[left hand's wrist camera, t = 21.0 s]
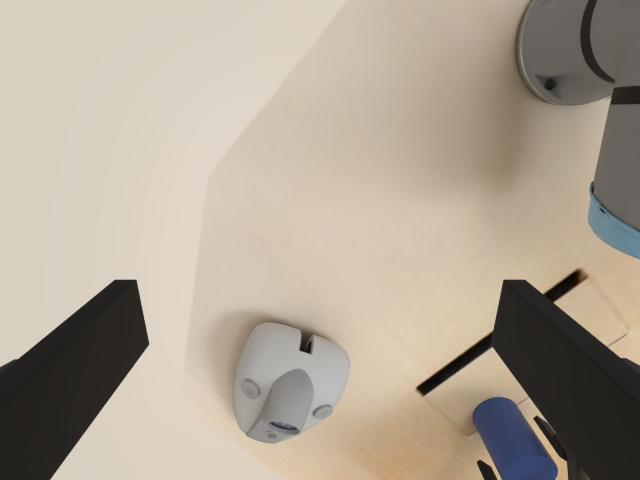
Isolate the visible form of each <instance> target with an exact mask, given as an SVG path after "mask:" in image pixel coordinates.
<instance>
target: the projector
mask: <svg viewBox="0 0 640 480" xmlns="http://www.w3.org/2000/svg"><path fill="white" fill-rule="evenodd" d="M300 343H301V330H299V329H296V328H293V327H289V326H286V325H283V324H278V323H270V322H269V323H262V324H260V325H258V326H257V327H256V328H255V329H254V330H253V331H252V333H251V334H250V336H249V338H248V340H247V342H246V344H245V346H244V349H243V351H242V354H241V357H240V360H239V363H238V367H237V370H236V375H235V380H234V387H233V404H234V411H235V416H236V420H237V423H238V425H239V428H240V429H241V430H242V431H243V432H244V433H246V436H248V437H250V438H252V439H255V440H257V441H261V442H265V443H272V444H274V443H278V442H280V441H283V440H286V439H289V438H291V437H293V436H296V435H299V434H300V433H302V432H304V431H305V430H307V429H309V428H311V427H312V426H314V425H315V424H317V423H318V422H319V421H321V420H322V419H323V418H326V417H327V416H329V415H330V414H331V413H332V411H333V408H334V406H335V405H336V403H337V402H338V400H339V398H340V397H341V395H342V393H343V391H344V388H345V385H346V383H347V379H348V375H349V369H350V361H349V357H348V355H347V353H346V351H345V350H344V349H343V348H342V347H341V346H339V345H338V344H336V343H334V342H332V341H330V340H327V339H325V338H322V337H319V336H316V335H314V334H313V335H311V337H310V338H309V340H308V343H307V345H306V348H305V350H304V352H302V351H299V348H300Z"/></svg>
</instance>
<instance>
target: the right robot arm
mask: <svg viewBox="0 0 640 480" xmlns="http://www.w3.org/2000/svg"><path fill="white" fill-rule="evenodd" d="M533 419H534V420H535V422H536V423H537V425H538V426H539V428H540V429H541V431H542V432H543V433H544V435H545V436H546V438H547V439H548V441H549V442H550V443H551V445H552V446H553V448H554V449H555V451H556V452H557V454H558V455H559V456H560V457H561V458H562V459H564V460H565V461H567V468H568V480H588V476H587V475H586V474H585V472H584V471H583V469H582V468H581V467H580V465H579V464H578V463H577V461H576V460H575V459H574V457H573V456H572V454H571V453H570V452H569V450H568V449H567V448H566V446H565V445H564V444H563V442H562V441H561V439H560V438H559V437H558V435H557V434H555V432H554V431H553V430H552V428H551V427H550V425H549V424H548V423H547V422H545V421H544V420H542V419H541V418H540V417H538V416H536V417H534V418H533ZM477 464H478V467H479V469H480V471H481V473H482V476H483V478H484V480H497V478H496V476H495V474H494V472H493V470H492V468H491V466H489V465H487V464H486V463H484V462H483V461H481V460H479V461H478V462H477ZM589 480H590V479H589Z"/></svg>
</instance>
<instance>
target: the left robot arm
mask: <svg viewBox="0 0 640 480" xmlns="http://www.w3.org/2000/svg"><path fill="white" fill-rule="evenodd" d="M516 61H517V66H518V70H519V73H520V75H521V78H522V80H523V81H524V83H525V85H526V86H527V87H528V89H529V90H530V91H531V92H532V93H533V94H534V95H536V96H537V97H538V98H540V99H542V100H544V101H546V102H548V103H551V104H556V105H582V104H587V103H591V102H594V101H598V100H601V99H603V98H606V97H608V96H610V95H612V96H611V97H612V98H611V103H610V105H609V110H608V115H607V120H606V125H605V129H604V134H603V139H602V144H601V149H600V153H599V158H598V163H597V168H596V173H595V177H594V181H593V182H592V183H591V185H590V196H591V199H590V206H589V212H588V222H589V225H590V226H591V228H592V230H593V232H594V233H595V235H596V236H597V237H599V238H600V239H601V240H602V241H603V242H605V243H606V244H608V245H610V246H611V247H613V248H615V249H617V250H619V251H621V252H623V253H625V254H627V255H630V256H632V257H635V258H637V259H640V0H531V2H530V4H529V5H528V7H527V9H526V11H525V13H524V15H523V18H522V20H521V23H520V26H519V30H518V34H517V40H516ZM609 98H610V97H609ZM607 99H608V98H607ZM148 345H149V340H148V335H147V330H146V326H145V321H144V315H143V310H142V305H141V300H140V295H139V290H138V285H137V280H114V281H113V282H112V283H110V284H109V285H108V286H107V287H106V288H104V289H103V290H102V291H101V292H99V293H98V294H97V295H96V296H95V297H93V298H92V299H91V300H90V301H88V302H87V303H86V304H85V305H84V306H82V307H81V308H80V309H79V310H77V311H76V312H75V313H74V314H73V315H71V316H70V317H69V318H68V319H67V320H65V321H64V322H63V323H62V324H60V325H59V326H58V327H57V328H56V329H54V330H53V331H52V332H51V333H50V334H48V335H47V336H46V337H45V338H43V339H42V340H41V341H40V342H38V343H37V344H36V345H35V346H34V347H32V348H31V349H30V350H29V351H28V352H26V353H25V354H24V355H23V356H21V357H20V358H19V359H15V360H13V361H11V362H9V363H7V364H5V365H3V366H2V367H0V480H50V479H51V478H52V476H53V475H54V474H55V472H56V471H57V469H58V468H59V467H60V465H61V464H62V463H63V461H64V460H65V459H66V457H67V456H68V454H69V453H70V452H71V450H72V449H73V448H74V446H75V445H76V444H77V442H78V441H79V439H80V438H81V437H82V435H83V434H84V433H85V431H86V430H87V429H88V427H89V426H90V424H91V423H92V422H93V420H94V419H95V418H96V416H97V415H98V414H99V412H100V411H101V409H102V408H103V407H104V405H105V404H106V403H107V401H108V400H109V399H110V397H111V396H112V394H113V393H114V392H115V390H116V389H117V388H118V386H119V385H120V383H121V382H122V381H123V379H124V378H125V377H126V375H127V374H128V373H129V371H130V370H131V369H132V367H133V366H134V364H135V363H136V362H137V360H138V359H139V358H140V356H141V355H142V354H143V352H144V351H145V349H146V348H147V347H148ZM491 345H492V347H493V348H494V349H495V351H496V352H497V354H498V355H499V356H500V358H501V359H502V360H503V362H504V363H505V364H506V366H507V367H508V369H509V370H510V371H511V373H512V374H513V375H514V377H515V378H516V379H517V381H518V382H519V384H520V385H521V386H522V388H523V389H524V390H525V392H526V393H527V394H528V396H529V397H530V399H531V400H532V401H533V403H534V404H535V405H536V407H537V408H538V409H539V411H540V412H541V414H542V415H543V416H544V418H545V419H546V420H547V422H548V423H549V424H550V426H551V427H552V429H553V430H554V431H555V433H556V434H557V435H558V437H559V438H560V439H561V441H562V442H563V444H564V445H565V446H566V448H567V449H568V450H569V452H570V453H571V454H572V456H573V457H574V459H575V460H576V461H577V463H578V464H579V465H580V467H581V468H582V469H583V471H584V472H585V474H586V475H587V476H588V478H589V479H590V480H640V366H639V365H638V364H636V363H634V362H632V361H630V360H628V359H626V358H620V357H619V356H617V355H616V354H615V353H614V352H612V351H611V350H610V349H609V348H608V347H606V346H605V345H604V344H603V343H602V342H600V341H599V340H598V339H597V338H595V337H594V336H593V335H592V334H591V333H589V332H588V331H587V330H586V329H584V328H583V327H582V326H581V325H580V324H578V323H577V322H576V321H575V320H573V319H572V318H571V317H570V316H569V315H567V314H566V313H565V312H564V311H563V310H561V309H560V308H559V307H558V306H556V305H555V304H554V303H553V302H552V301H550V300H549V299H548V298H547V297H545V296H544V295H543V294H542V293H541V292H539V291H538V290H537V289H536V288H534V287H533V286H532V285H531V284H530V283H528V282H527V281H526V280H503V285H502V290H501V295H500V300H499V305H498V310H497V315H496V320H495V325H494V330H493V335H492V340H491Z"/></svg>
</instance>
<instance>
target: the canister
mask: <svg viewBox="0 0 640 480" xmlns="http://www.w3.org/2000/svg"><path fill="white" fill-rule="evenodd" d="M473 421H474V424H475V426H476V428H477V430H478V432H479V434H480V436H481V438H482V440H483V442H484V444H485V446H486V448H487V450H488V452H489V454H490V456H491V458H492V460H493V462H494V464H495V466H496V468H497V470H498V472H499V474H500V476H501V478H502V480H555V479H556V477H557V474H558V469H557V465H556V464H555V462H554V461H553V459H552V458H551V456H550V455H549V453H548V452H547V450H546V449H545V447H544V446H543V444H542V443H541V441H540V440H539V438H538V437H537V435H536V434H535V432H534V431H533V429H532V428H531V426H530V425H529V423H528V422H527V420H526V419H525V417H524V416H523V414H522V413H521V411H520V410H519V408H518V407H517V405H516V404H515V403H514V402H513V401H511V400H509V399H507V398H500V397H499V398H492V399H488V400H486V401H484V402H482V403H481V404H480V405H479V406H478V407H477V408H476V409H475V411H474V414H473Z"/></svg>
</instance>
